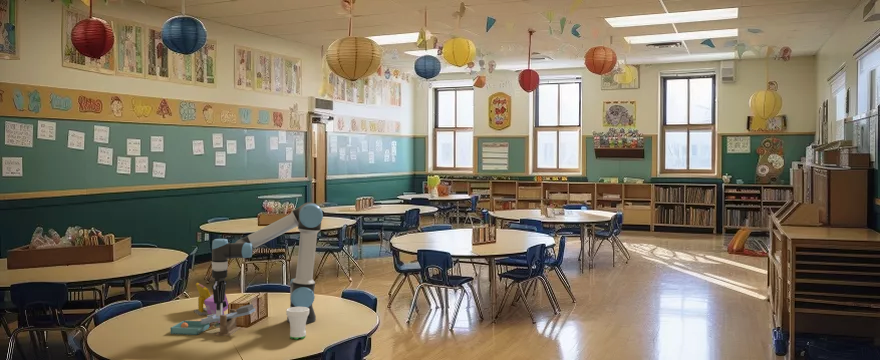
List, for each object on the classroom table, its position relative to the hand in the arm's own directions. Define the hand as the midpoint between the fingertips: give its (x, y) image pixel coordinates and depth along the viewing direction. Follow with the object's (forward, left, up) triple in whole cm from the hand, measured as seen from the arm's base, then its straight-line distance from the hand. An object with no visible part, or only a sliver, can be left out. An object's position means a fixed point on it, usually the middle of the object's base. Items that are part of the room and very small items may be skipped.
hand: (219, 315), depth 346 cm
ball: (+18, 0, -6) cm, 19 cm away
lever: (-5, 0, 0) cm, 5 cm away
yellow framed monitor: (+25, -37, -8) cm, 46 cm away
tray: (+15, 0, -8) cm, 17 cm away
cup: (-43, +6, -8) cm, 44 cm away
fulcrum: (-5, 0, -8) cm, 9 cm away
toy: (+8, -18, -8) cm, 22 cm away
